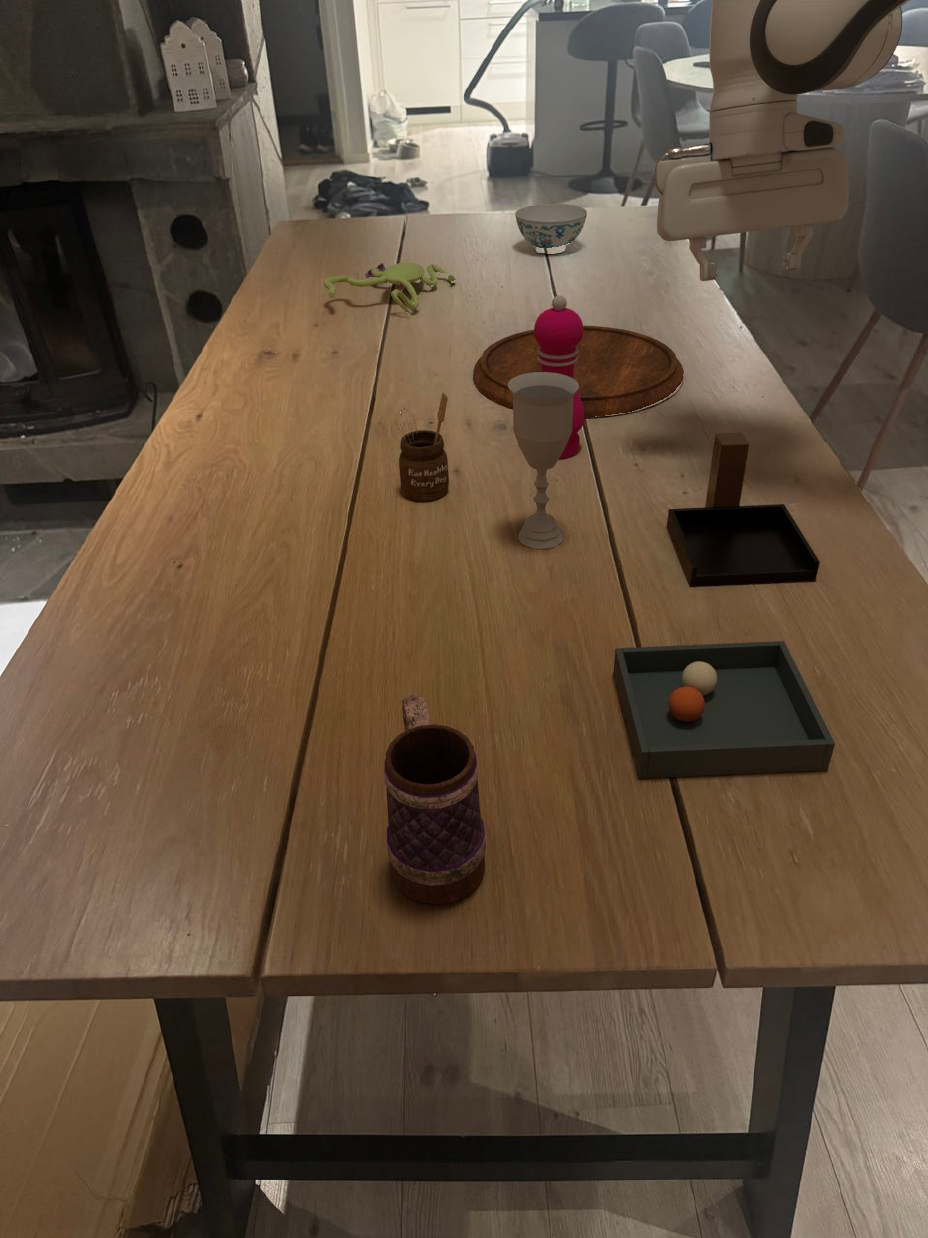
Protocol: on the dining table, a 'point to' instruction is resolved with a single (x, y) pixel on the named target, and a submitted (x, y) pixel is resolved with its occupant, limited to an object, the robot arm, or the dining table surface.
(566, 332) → the pepper mill
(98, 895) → the dining table surface
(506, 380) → the cutting board
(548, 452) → the chalice
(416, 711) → the mug
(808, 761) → the tray
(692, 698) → the ball
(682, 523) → the pan
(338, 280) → the figurine
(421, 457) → the utensil holder
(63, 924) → the dining table surface
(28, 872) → the dining table surface
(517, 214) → the chinaware
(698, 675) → the ball
